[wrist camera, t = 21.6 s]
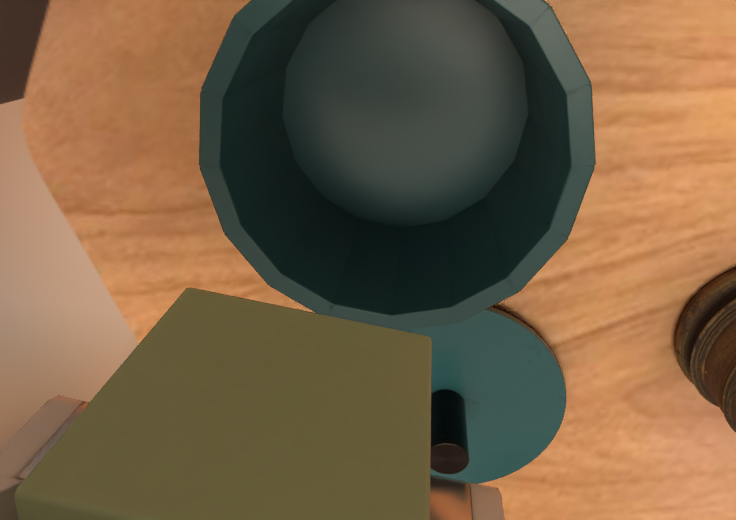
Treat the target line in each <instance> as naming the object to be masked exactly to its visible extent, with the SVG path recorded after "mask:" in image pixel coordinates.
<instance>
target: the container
mask: <svg viewBox="0 0 736 520" xmlns="http://www.w3.org/2000/svg"><path fill="white" fill-rule="evenodd" d="M675 350H676V355H677V359H678V362H679V365H680V368H681V369H682V371H683V373H684V374H685V376H686V377H687V378H688V379H689V380H690V381H691V382H692V383H693V384H694V385H695V387H696V388H697V390H698V391H699V393H700V394H701V395H702V396H703V397H704V398H705V399H706V400H708V401H709V402H710V403H712V404H714V405H716V406H718V407H720V409H721V410H722V412H723V413H724V415H725V418H726V420H727V422H728V424H729V425H730V427H731V428H732V429H733V430H734V431H735V432H736V268H735V269H733V270H731V271H728V272H726V273H725V274H723V275H721V276H719V277H718V278H716V279H715V280H713V281H712V282H710V283H709V284H708V285H707V286H705V287H704V288H703V289H702V290H701V291H700V292H699V293H698V294H697V295H696V296H695V297H694V298H693V299H692V300H691V301H690V303H689V304H688V305H687V307H686V308H685V310H684V312H683V313H682V316H681V317H680V320H679V322H678V325H677V329H676V335H675Z"/></svg>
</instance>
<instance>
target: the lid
mask: <svg viewBox="0 0 736 520" xmlns="http://www.w3.org/2000/svg"><path fill="white" fill-rule="evenodd" d="M403 331H405V332H410V333H415V334H420V335H424V336H428V337H430V338H431V341H432V354H431V454H430V474H431V475H436V476H441V477H446V478H451V479H456V480H461V481H466V482H467V483H468V482H470V483H475V484H479V483H483V482H488V481H492V480H495V479H498V478H501V477H504V476H506V475H508V474H511V473H513V472H515V471H517V470H519V469H520V468H522V467H524V466H525V465H527V464H528V463H530V462H531V461H532V460H534V459H535V458H536V457H538V456H539V455H540V454H541V453H542V452H543V451H544V450H545V449H546V448H547V446H548V445H549V444H550V442H551V441H552V440H553V438H554V437H555V435H556V433H557V431H558V430H559V428H560V425H561V422H562V420H563V417H564V413H565V407H566V387H565V382H564V377H563V374H562V371H561V369H560V366H559V363H558V361H557V359H556V357H555V355H554V354H553V352H552V350H551V349H550V347H549V346H548V345H547V344H546V342H545V341H544V340H543V339H542V338H541V337H540V336H539V335H538V334H537V333H536V332H535V331H534V330H533V329H532V328H530V327H529V326H527V325H526V324H525V323H523V322H522V321H520V320H519V319H517V318H515V317H513V316H512V315H510V314H508V313H506V312H504V311H501V310H498V309H496V308H493V307H489V308H487V309H485V310H483V311H481V312H479V313H477V314H475V315H473V316H471V317H469V318H467V319H465V320H463V321H461V322H459V323H455V324H448V325H440V326H433V327H425V328H418V329H410V330H403Z"/></svg>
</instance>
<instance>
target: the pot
mask: <svg viewBox="0 0 736 520" xmlns="http://www.w3.org/2000/svg"><path fill="white" fill-rule="evenodd" d="M590 83H591V81H590V79H589V77H588V76H587V74H586V72H585V70H584V68H583V66H582V64H581V62H580V60H579V58H578V57H577V55H576V53H575V51H574V49H573V47H572V45H571V43H570V41H569V39H568V38H567V36H566V34H565V32H564V30H563V28H562V26H561V24H560V22H559V21H558V19H557V17H556V15H555V13H554V11H553V9H552V7H551V6H550V5H549V4H548V3H547V2H545V1H544V0H251V1H250V2H249V3H248V4H247V5H245V6H244V7H243V8H242V9H241V10H240V11H239V12H237V13H236V14H235V15H234V18H233V19H232V21H231V23H230V25H229V28H228V30H227V32H226V34H225V36H224V39H223V41H222V43H221V45H220V48H219V50H218V52H217V54H216V57H215V59H214V61H213V63H212V66H211V68H210V70H209V72H208V75H207V77H206V79H205V81H204V84H203V86H202V89H201V90H202V91H201V92H200V146H199V165H200V170H201V172H202V175H203V178H204V180H205V183H206V186H207V188H208V191H209V194H210V196H211V199H212V202H213V205H214V207H215V210H216V213H217V215H218V218H219V221H220V223H221V226H222V229H223V231H224V232H225V235H226V236H227V237H228V239H229V240H230V241H231V242H232V243H233V244H234V246H235V247H236V248H237V249H238V250H239V251H240V253H241V254H242V255H243V256H244V257H245V258H246V260H247V261H248V262H249V263H250V264H251V265H252V267H253V268H254V269H255V270H256V271H257V272H258V274H259V275H260V276H261V277H262V278H263V279H264V281H265V282H266V283H267V284H268V285H270V286H271V287H272V288H274V289H276V290H278V291H279V292H281V293H283V294H284V295H286V296H288V297H290V298H291V299H293V300H295V301H297V302H298V303H300V304H302V305H303V306H305V307H307V308H309V309H310V310H312V311H314V312H316V313H317V314H322V315H327V316H332V317H337V318H341V319H346V320H351V321H356V322H361V323H366V324H371V325H376V326H381V327H385V328H390V329H395V330H400V331H403V330H410V329H418V328H425V327H433V326H440V325H448V324H455V323H459V322H461V321H463V320H465V319H467V318H469V317H471V316H473V315H475V314H477V313H479V312H481V311H483V310H485V309H487V308H489V307H491V306H493V305H495V304H497V303H499V302H501V301H502V300H504V299H506V298H508V297H510V296H512V295H514V294H516V293H518V292H519V291H521V290H522V289H523V288H524V286H525V285H526V284H527V283H528V282H529V281H530V280H531V279H532V278H533V277H534V276H535V274H536V273H537V272H538V271H539V270H540V269H541V268H542V267H543V266H544V265H545V263H546V262H547V261H548V260H549V259H550V258H551V257H552V256H553V255H554V254H555V252H556V251H557V250H558V249H559V248H560V247H561V246H562V245H563V244H564V243H565V242H566V240H567V239H568V236H569V235H570V232H571V230H572V227H573V224H574V222H575V219H576V216H577V214H578V211H579V208H580V205H581V203H582V200H583V197H584V195H585V192H586V189H587V187H588V184H589V181H590V179H591V176H592V173H593V171H594V165H595V164H596V160H595V141H594V122H593V103H592V85H591V84H590Z"/></svg>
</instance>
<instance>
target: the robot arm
mask: <svg viewBox="0 0 736 520" xmlns="http://www.w3.org/2000/svg"><path fill="white" fill-rule="evenodd" d="M89 403H90V402H85V401H80V400H76V399H72V398H67V397H63V396H57V397H54V398H52V399H50V400H49V401H47V402H46V403H45V404H44V405H43V406H42V407H41V409H40V410H39V411H38V412H37V413H36V414H35V415H34V416H33V417H32V418H31V419H30V420H29V421H28V422H27V423H26V424H25V425H24V426H23V427H22V428H21V429H20V430H19V431H18V432H17V434H16V435H15V436H14V437H13V438H12V439H11V440H10V441H9V442H8V443H7V444H6V445H5V446H4V447H3V448H2V449H1V450H0V520H19V519H18V514H17V509H16V504H15V500H14V494H15V492H16V489H17V487H18V486H19V485H20V484H21V483H22V482H23V480H24V479H25V478H26V477H27V476H28V474H29V473H30V472H31V471H32V470H33V469H34V467H35V466H36V465H37V464H38V463H39V461H40V460H41V459H42V458H43V457H44V456H45V454H46V453H47V452H48V451H49V450H50V449H51V447H52V446H53V445H54V444H55V443H56V441H57V440H58V439H59V438H60V437H61V436H62V434H63V433H64V432H65V431H66V430H67V428H68V427H69V426H70V425H71V424H72V423H73V421H74V420H75V419H76V418H77V417H78V416H79V414H80V413H81V412H82V411H83V410H84V408H85V407H86V406H87V405H88V404H89ZM430 520H505V518H504V511H503V503H502V496H501V493H500V491H499V489H498V488H494V487H489V486H484V485H479V484H475V483H470V482H468V483H467V482H466V481H461V480H456V479H451V478H446V477H441V476H436V475H431V474H430Z"/></svg>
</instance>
